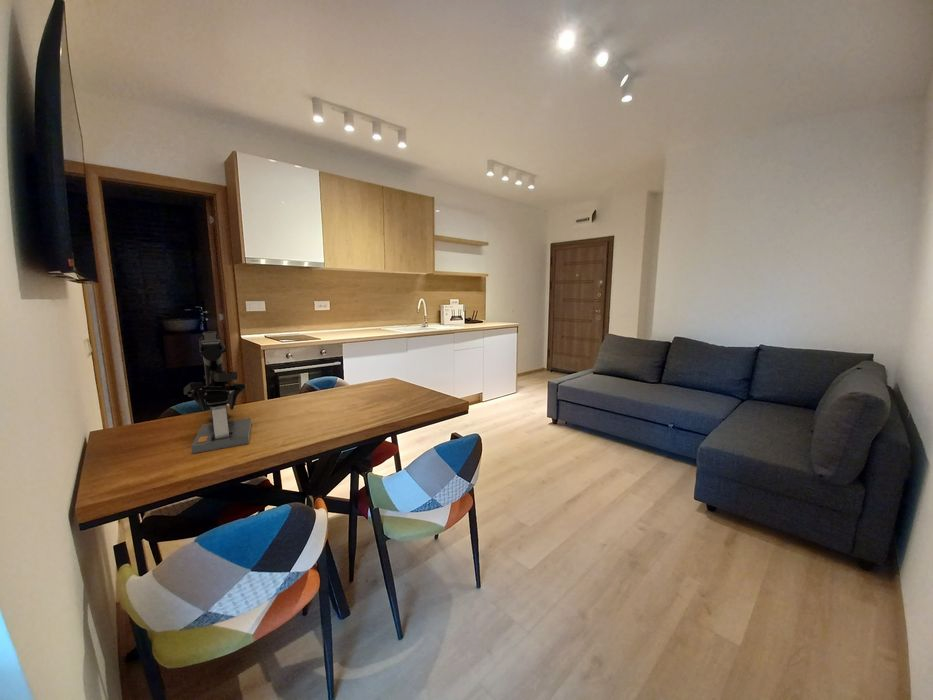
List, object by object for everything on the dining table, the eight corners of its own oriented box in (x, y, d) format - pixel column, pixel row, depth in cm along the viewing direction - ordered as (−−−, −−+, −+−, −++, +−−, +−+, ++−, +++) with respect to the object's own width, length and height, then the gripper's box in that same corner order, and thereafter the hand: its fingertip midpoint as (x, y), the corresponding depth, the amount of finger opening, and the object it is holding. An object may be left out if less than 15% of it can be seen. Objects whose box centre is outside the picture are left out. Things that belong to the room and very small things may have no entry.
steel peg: (215, 442, 126) (211, 407, 124) (229, 440, 129) (225, 405, 126) (216, 446, 123) (211, 410, 121) (230, 443, 125) (225, 408, 123)
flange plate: (202, 431, 137) (202, 424, 136) (251, 423, 144) (250, 417, 144) (192, 453, 118) (190, 445, 117) (248, 443, 125) (247, 436, 125)
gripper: (196, 360, 125) (200, 403, 120) (250, 364, 141) (256, 402, 136) (181, 373, 130) (184, 414, 125) (235, 375, 146) (240, 411, 141)
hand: (218, 410), depth 132 cm, fingers open, 9 cm apart
